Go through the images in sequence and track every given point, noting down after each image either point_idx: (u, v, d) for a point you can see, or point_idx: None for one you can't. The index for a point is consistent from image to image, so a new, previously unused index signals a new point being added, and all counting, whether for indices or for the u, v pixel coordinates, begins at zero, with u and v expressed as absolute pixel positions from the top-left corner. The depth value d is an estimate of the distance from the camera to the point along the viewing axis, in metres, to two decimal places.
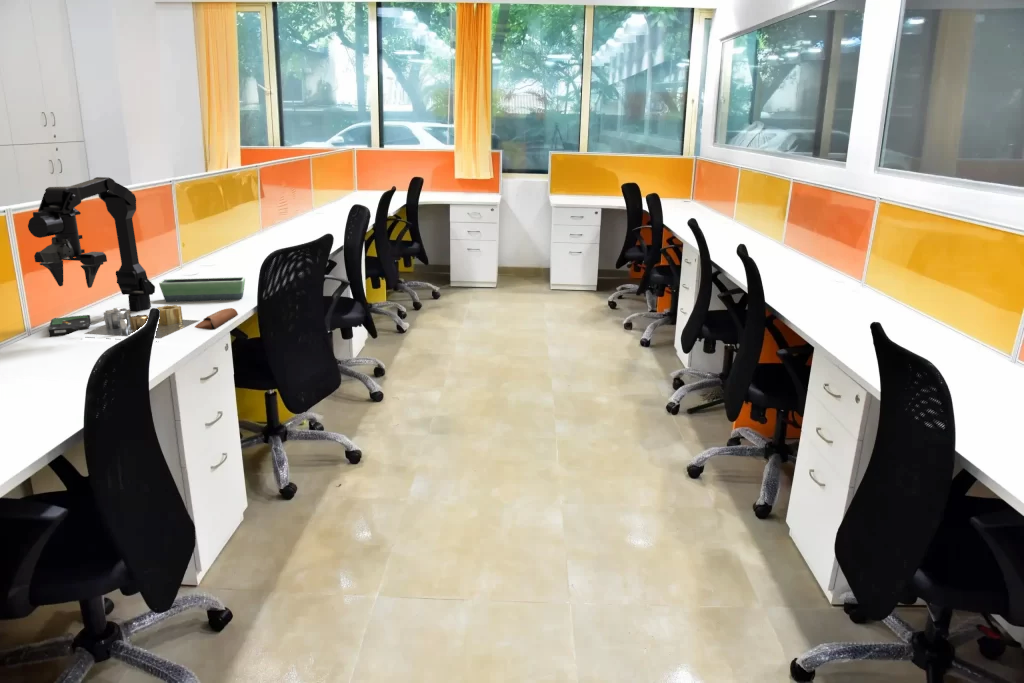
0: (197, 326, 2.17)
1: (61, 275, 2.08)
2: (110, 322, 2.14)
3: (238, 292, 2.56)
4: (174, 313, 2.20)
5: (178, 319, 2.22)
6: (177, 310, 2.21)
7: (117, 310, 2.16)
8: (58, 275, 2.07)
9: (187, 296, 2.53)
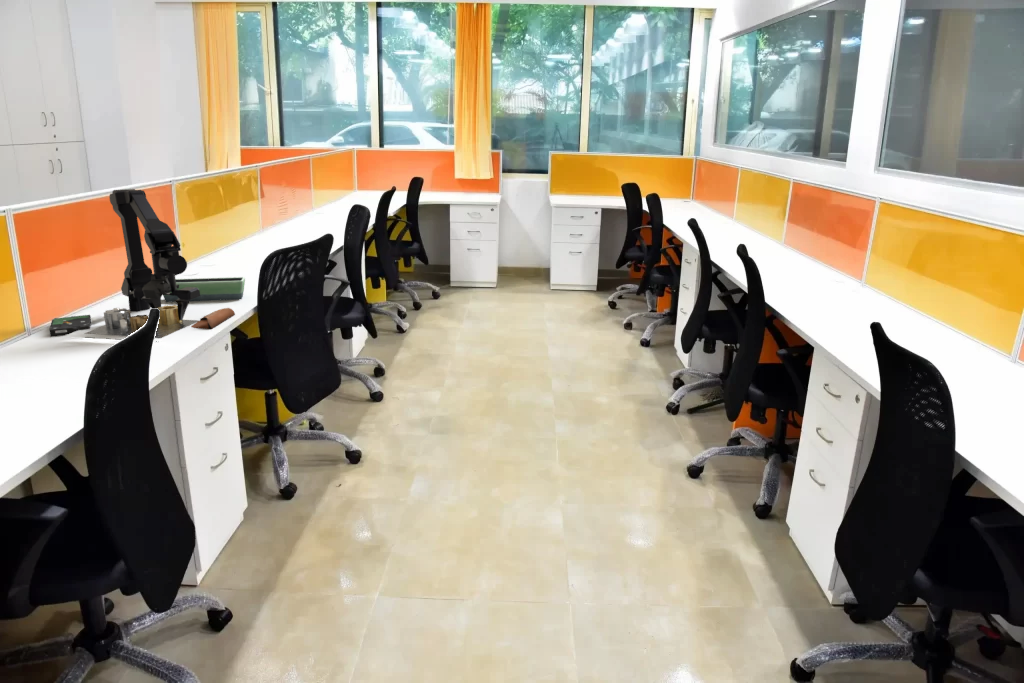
0: (194, 326, 2.17)
1: None
2: (110, 322, 2.14)
3: (238, 292, 2.56)
4: (174, 313, 2.20)
5: (178, 319, 2.22)
6: (177, 310, 2.21)
7: (117, 310, 2.16)
8: None
9: None
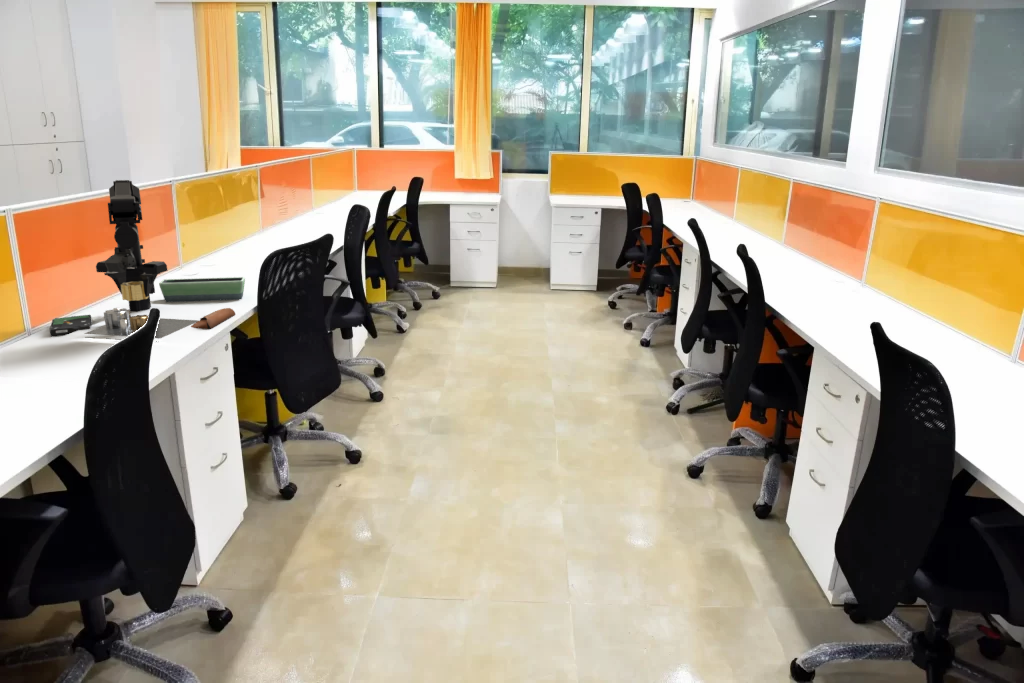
0: (193, 326, 2.17)
1: None
2: (110, 322, 2.14)
3: (238, 292, 2.56)
4: (140, 289, 2.09)
5: (144, 295, 2.10)
6: (143, 286, 2.09)
7: (117, 310, 2.16)
8: None
9: (187, 296, 2.53)
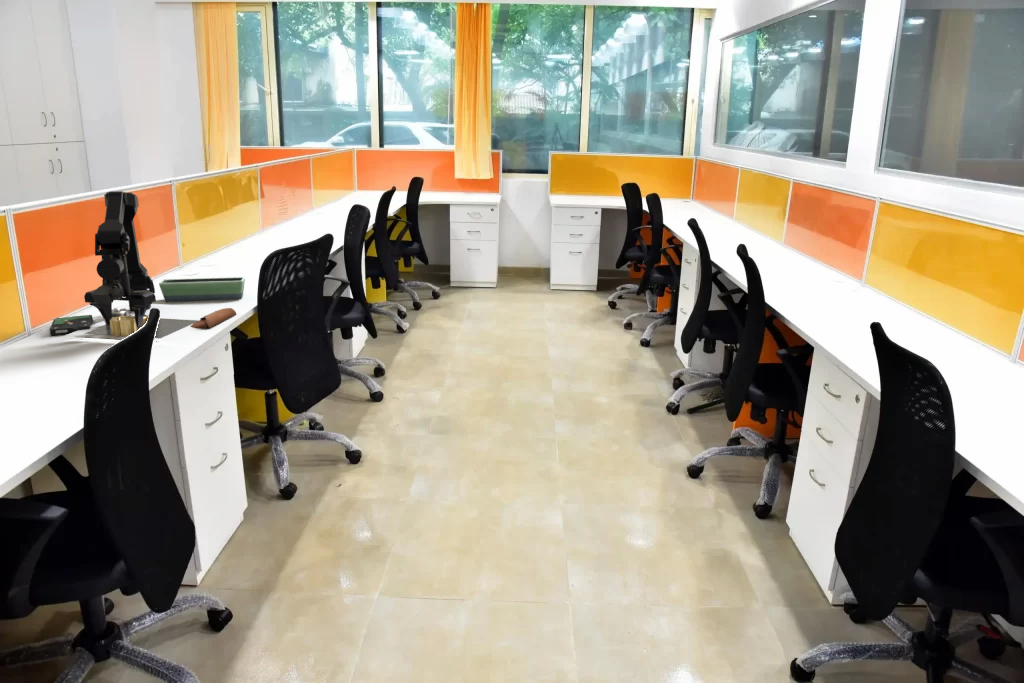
0: (193, 326, 2.18)
1: (110, 314, 2.10)
2: None
3: (238, 292, 2.56)
4: (128, 324, 2.07)
5: (133, 330, 2.09)
6: (132, 321, 2.08)
7: (117, 310, 2.16)
8: (107, 315, 2.09)
9: (187, 296, 2.53)
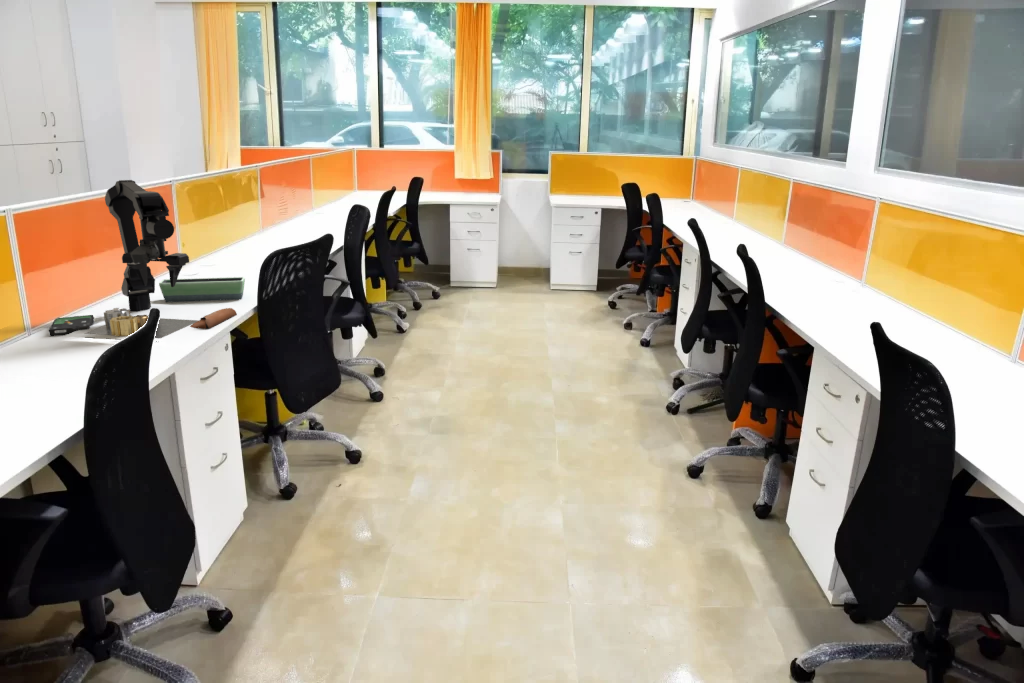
0: (192, 325, 2.18)
1: (145, 275, 2.22)
2: None
3: (238, 292, 2.56)
4: (128, 324, 2.07)
5: (133, 330, 2.09)
6: (132, 321, 2.08)
7: (117, 310, 2.16)
8: (143, 275, 2.21)
9: (187, 296, 2.53)
